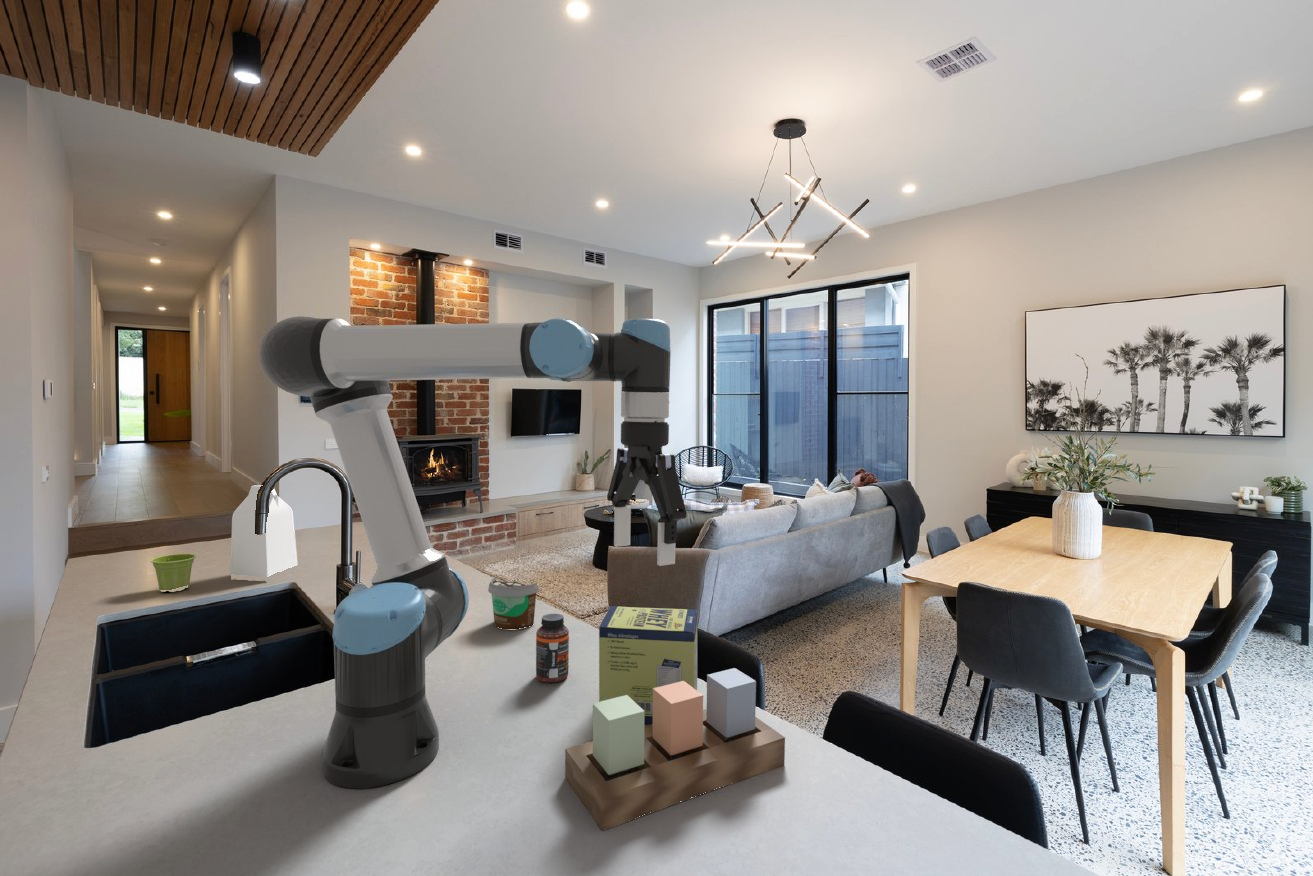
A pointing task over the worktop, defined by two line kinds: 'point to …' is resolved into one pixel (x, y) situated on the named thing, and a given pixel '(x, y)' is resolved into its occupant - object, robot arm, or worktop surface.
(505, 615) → the food container
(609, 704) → the sage rectangular block
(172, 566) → the plant pot
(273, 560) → the milk
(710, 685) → the slate upright cuboid
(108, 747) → the worktop surface
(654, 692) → the peach rectangular prism
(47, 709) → the worktop surface
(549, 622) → the supplement bottle
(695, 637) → the protein box
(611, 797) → the walnut board
